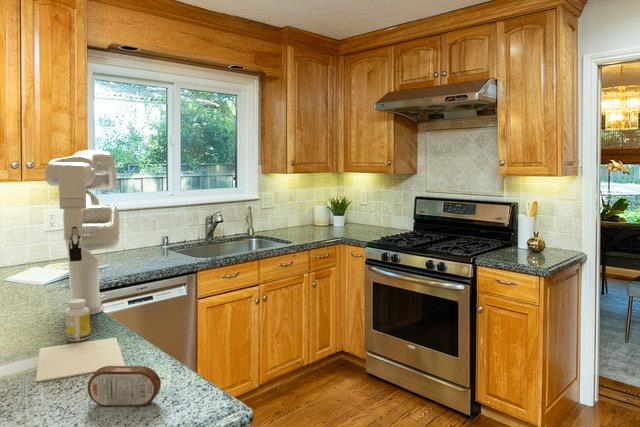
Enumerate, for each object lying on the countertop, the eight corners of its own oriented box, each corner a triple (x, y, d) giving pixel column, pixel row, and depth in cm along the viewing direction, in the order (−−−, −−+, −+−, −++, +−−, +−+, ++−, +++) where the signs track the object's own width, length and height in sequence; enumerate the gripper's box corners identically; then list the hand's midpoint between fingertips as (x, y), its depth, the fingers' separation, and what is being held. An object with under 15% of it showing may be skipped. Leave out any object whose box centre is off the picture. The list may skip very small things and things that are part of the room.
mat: (39, 349, 138) (39, 348, 138) (116, 338, 147) (116, 337, 147) (35, 382, 116) (35, 380, 116) (125, 367, 126) (125, 365, 126)
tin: (161, 401, 108) (160, 364, 107) (157, 408, 105) (156, 370, 104) (92, 401, 107) (91, 364, 106) (86, 408, 104) (84, 370, 103)
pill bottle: (94, 334, 150) (92, 297, 149) (84, 342, 144) (83, 303, 143) (72, 334, 150) (71, 297, 149) (62, 342, 144) (60, 303, 143)
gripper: (59, 201, 157) (61, 254, 159) (59, 206, 142) (62, 264, 144) (85, 201, 160) (87, 252, 162) (88, 205, 145) (90, 262, 147)
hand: (75, 258), depth 153 cm, fingers open, 9 cm apart
